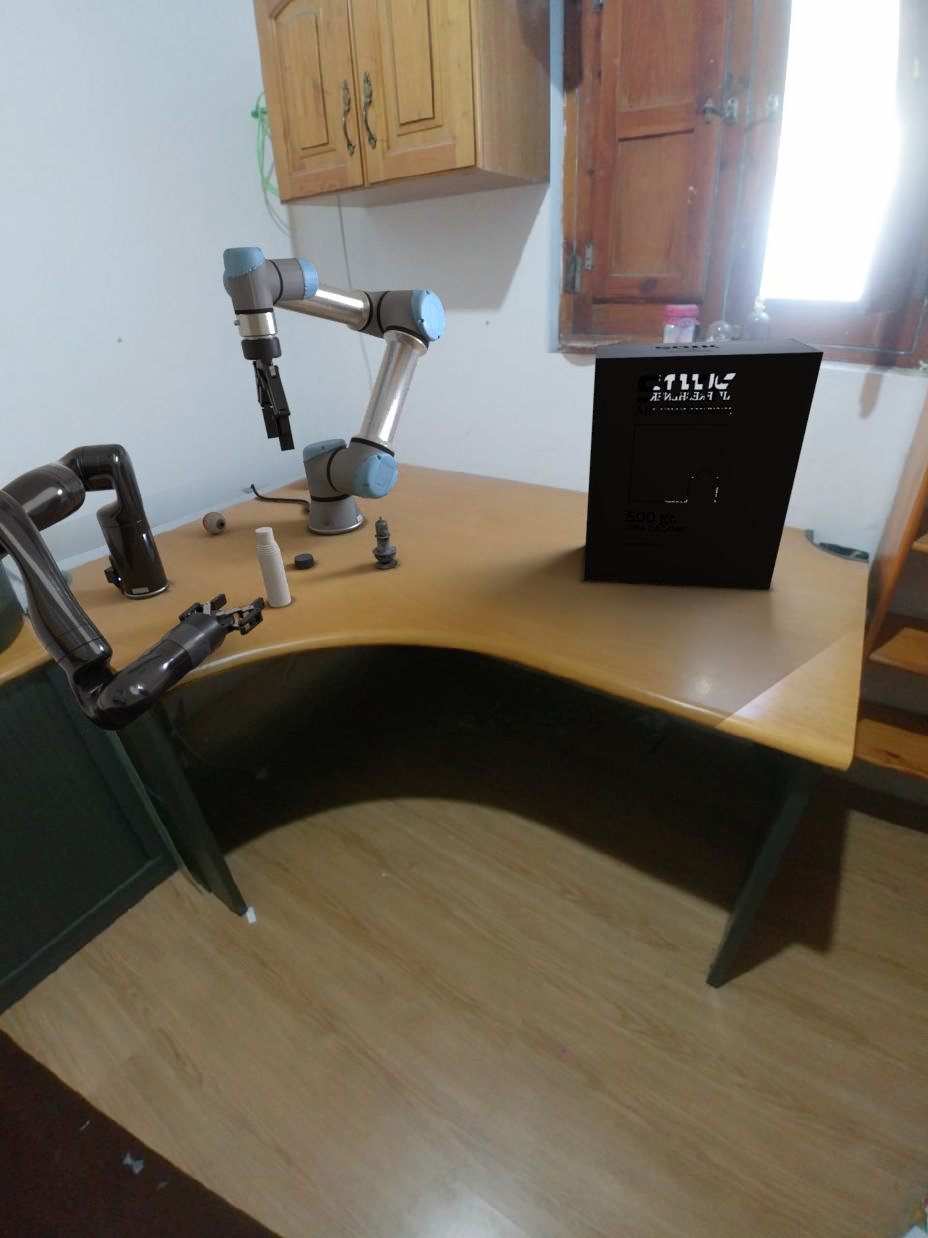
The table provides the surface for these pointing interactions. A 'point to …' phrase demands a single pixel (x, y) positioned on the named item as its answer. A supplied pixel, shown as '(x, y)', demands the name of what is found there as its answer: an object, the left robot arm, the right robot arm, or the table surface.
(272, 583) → the bottle
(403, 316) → the right robot arm
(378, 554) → the grey tall turned piece
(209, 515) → the eyeball
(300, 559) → the cap
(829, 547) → the table surface
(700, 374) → the cardboard box
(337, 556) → the table surface
